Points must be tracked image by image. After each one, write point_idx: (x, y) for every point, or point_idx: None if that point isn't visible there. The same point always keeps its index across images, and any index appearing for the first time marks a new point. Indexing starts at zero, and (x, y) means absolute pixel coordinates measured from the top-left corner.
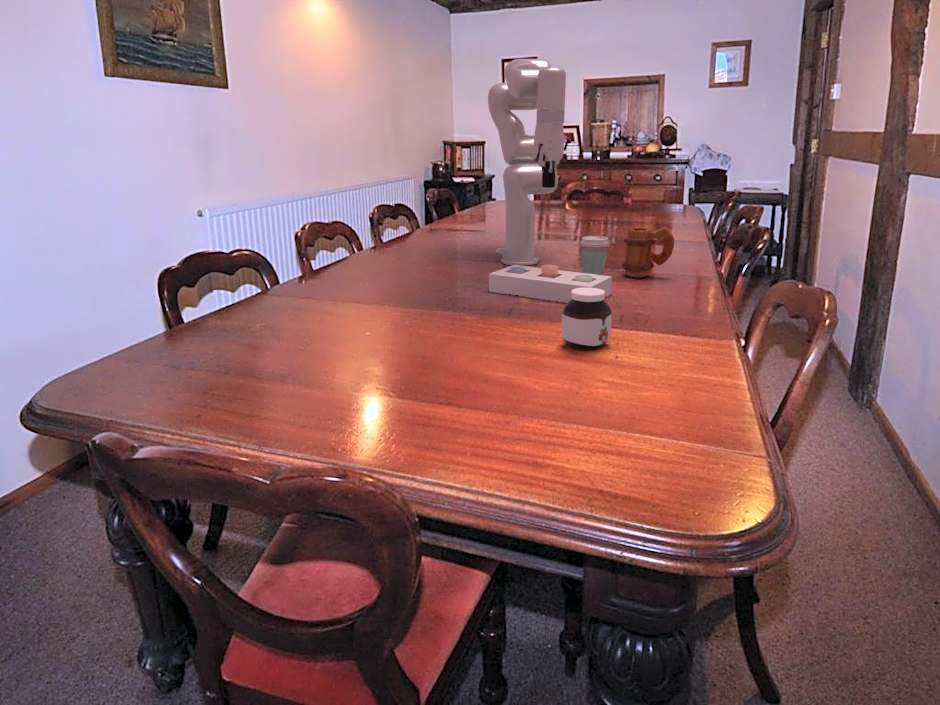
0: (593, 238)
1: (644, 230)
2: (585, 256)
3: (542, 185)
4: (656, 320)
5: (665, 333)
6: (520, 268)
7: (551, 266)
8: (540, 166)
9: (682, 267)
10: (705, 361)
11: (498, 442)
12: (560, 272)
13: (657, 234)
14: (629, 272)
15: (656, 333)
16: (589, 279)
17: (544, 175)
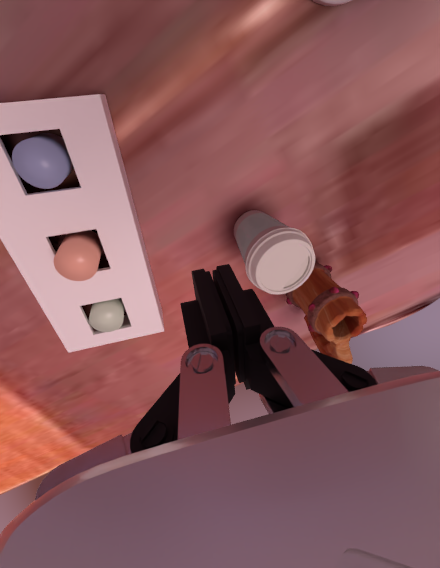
0: (284, 264)
1: (355, 326)
2: (244, 245)
3: (192, 276)
4: (92, 398)
5: (56, 423)
6: (50, 170)
7: (75, 269)
8: (98, 447)
9: (383, 289)
10: (15, 468)
11: None
12: (121, 255)
13: (334, 349)
14: None
15: (47, 420)
16: (104, 330)
17: (189, 345)
